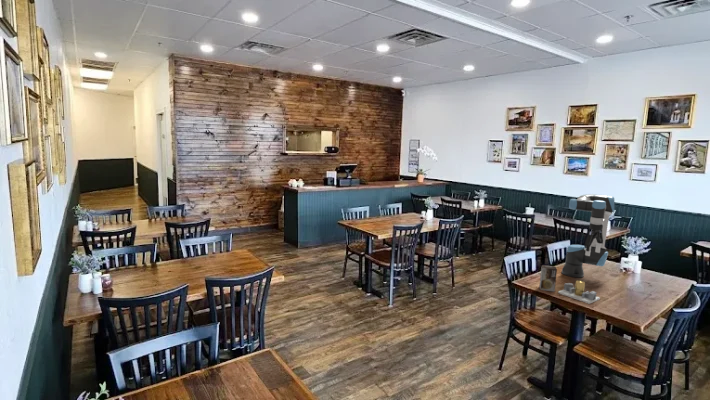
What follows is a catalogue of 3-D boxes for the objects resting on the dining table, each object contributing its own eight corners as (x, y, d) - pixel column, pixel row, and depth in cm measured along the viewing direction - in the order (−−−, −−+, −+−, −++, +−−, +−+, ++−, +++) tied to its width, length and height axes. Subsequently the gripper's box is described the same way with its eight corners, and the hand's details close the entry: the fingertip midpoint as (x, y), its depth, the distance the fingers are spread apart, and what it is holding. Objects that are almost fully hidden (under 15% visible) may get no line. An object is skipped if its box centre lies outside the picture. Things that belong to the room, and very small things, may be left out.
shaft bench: (557, 293, 263) (558, 285, 262) (568, 289, 271) (569, 281, 270) (589, 303, 247) (590, 295, 246) (599, 299, 254) (600, 291, 254)
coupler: (580, 296, 255) (582, 283, 253) (572, 293, 259) (574, 281, 258) (584, 295, 258) (586, 282, 256) (576, 292, 262) (578, 279, 261)
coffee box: (553, 288, 271) (555, 266, 268) (554, 291, 265) (557, 269, 262) (539, 286, 274) (541, 264, 271) (540, 289, 268) (542, 267, 265)
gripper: (593, 227, 250) (589, 258, 254) (611, 222, 263) (607, 252, 267) (581, 224, 256) (577, 255, 260) (599, 220, 270) (595, 249, 273)
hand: (592, 254), depth 263 cm, fingers open, 13 cm apart
